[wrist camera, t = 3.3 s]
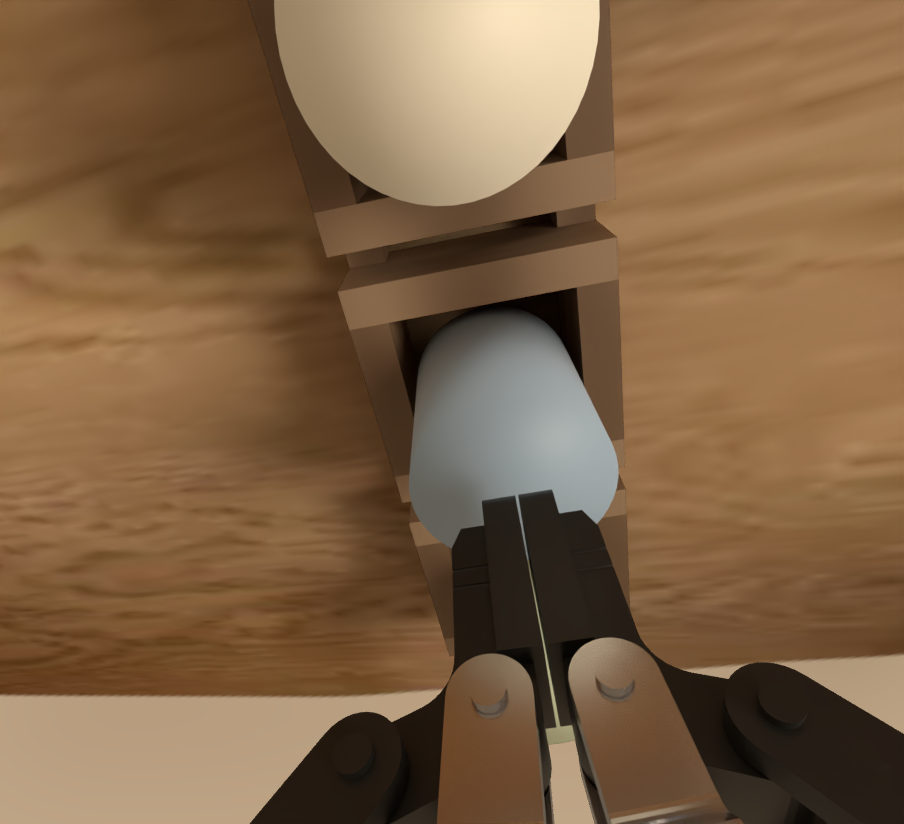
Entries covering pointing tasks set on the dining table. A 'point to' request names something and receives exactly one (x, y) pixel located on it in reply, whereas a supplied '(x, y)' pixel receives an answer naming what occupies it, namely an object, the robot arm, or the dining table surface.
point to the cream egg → (437, 87)
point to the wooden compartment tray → (475, 277)
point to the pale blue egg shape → (503, 424)
